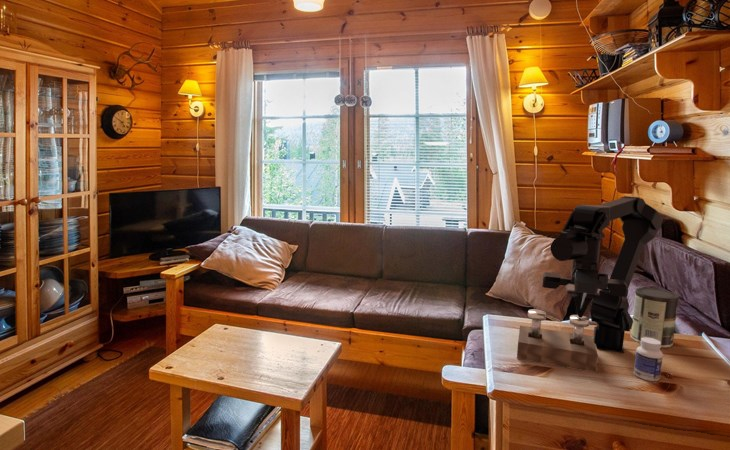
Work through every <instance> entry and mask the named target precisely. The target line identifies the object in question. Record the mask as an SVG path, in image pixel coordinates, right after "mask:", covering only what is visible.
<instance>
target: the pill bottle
mask: <svg viewBox="0 0 730 450" xmlns="http://www.w3.org/2000/svg"><path fill="white" fill-rule="evenodd" d="M639 344H640V345H639V346H638V347H637V348H636V351H635V360H634V366H633V367H634V368H633V374H634V375H635V376H636V377H638V378H639V379H641V380H645V381H649V382H657V381H660V379H661V373H662V365H663V358H664V353H663V352H662V350H661V348H662V347H661V342H660V341H658V340H656V339H653V338H647V337H644V338H641V342H640V343H639Z"/></svg>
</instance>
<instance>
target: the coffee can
mask: <svg viewBox="0 0 730 450" xmlns="http://www.w3.org/2000/svg"><path fill="white" fill-rule="evenodd" d="M634 293H635V294H634V296H635V297H634V302H633V303H634V304H633V313H632V320H633V324H632V327H631V329H630V338H631V340H634V341H635V342H637V343H639V344H641V343H640V342H641V338H644V337H647V338H653V339H656V340H658V341H660V342H661V348H671V347H673V345H674V339H675V338H674V337H675V329H676V319H677V314H678V313H677V312H678V305H679V299H680V295H679V294H678V293H676V292H673V291H669V290H666V289H662V288H661V289H660V288H655V287H637V288H636V289H635V290H634Z"/></svg>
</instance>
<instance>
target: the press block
mask: <svg viewBox="0 0 730 450" xmlns="http://www.w3.org/2000/svg"><path fill="white" fill-rule="evenodd" d="M598 356H599V354H598V349H597V348H596V344H595V343H594V340H593V336H592V335H588V334H583V339H582V343H575V342H573V332H567V331H561V330H560V331H559V330H554V329H546V328H541V327H540V336H539V337H535V336H532V335H531V326H527V325H519V332H518V340H517V352H516V359H517V360H524V361H528V362H533V363H534V362H535V363H540V364H547V365H551V366H556V367H563V368H569V369H572V370H573V369H574V370H580V371H586V372H590V373H597V367H598V359H599V358H598Z"/></svg>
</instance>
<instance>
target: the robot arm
mask: <svg viewBox="0 0 730 450" xmlns="http://www.w3.org/2000/svg"><path fill="white" fill-rule="evenodd" d="M617 219H620V221H621V222H622V226H621V230H622V233H623V237H624V240H623V243H622V245H621V248H620V250H619V253H618V255H617V258H616V260H615V262H614V265H613V267H612V271H611V274H610V276H609V274H608V273H600V272H599V271H598V269H599V257H600V251H601V240H602V239H605V238H606V234H604V232H603V230H605V229H606V228H608V227H609V226H611V224H610V222H612V221H614V220H617ZM662 219H663V218H662V217H661V216H660V213H659V212H658V210H656V209H655V208H653V207H652V206H651V205H649V204H648V203H646V201H645V200H644V198H642V197H639V196H629V195H628V196H627V195H624V196H621V197H619V198H617V199H613V200H611V201H607V202H604V203H601V204H578V205H576V206H575V207H574V208H573V210H572V212H571V213H570V214H569V216H568V219H567V221H566V223H565V225H564V227H563V228H562V231H560V232H559V236H558V237H556V238H555V239H553V241H552V243H551V244H550V253H551V255H552V256H553V258H554V259H555V260H557V261H559V262H566V261H572V263H571V274H570V278H568V277H561V276H560V273H559V272H550V271H549V272H548V271H547V272H546V271H545V272H544V273H542V279H541V280H542V281H541V282H542V283H541V287H542V288H543V289H544V288H545V289H552V290H557V289H558V288H560V286H565V290H566V293H567V294H568V295H569V294H571V296H572V299H573V302H574V304H575V308H576V313H577V314H576V315H578V317H581V318H582V316H584V314H585V312H586V310H587V309H588V307H589V314H590V322H593V323H596V326H594V327H593V328H594V329H593V336H592V337H593V340H594V344H595V347H596V349H597V350H598V349H599V350H602V351H603V350H605V351H610V352H617V353H625V350H624V340H625V333H626V332H631V330H632V324H633V317H632V316H631V315H630V313H629V308H630V304H629V299H628V294H629V288H630V285H631V282H632V279H633V276H634V274H635V271H636V268H637V265H638V263H639V261H640V258H641V255H642V253H643V250H644V247H645V246H646V244H648V243H649V242H651V241H652V240H654V238H656V236H657V234H658V231H659V230H661V228H662V224H663V220H662ZM582 293H583V294H582ZM581 294H582V300H581Z"/></svg>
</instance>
